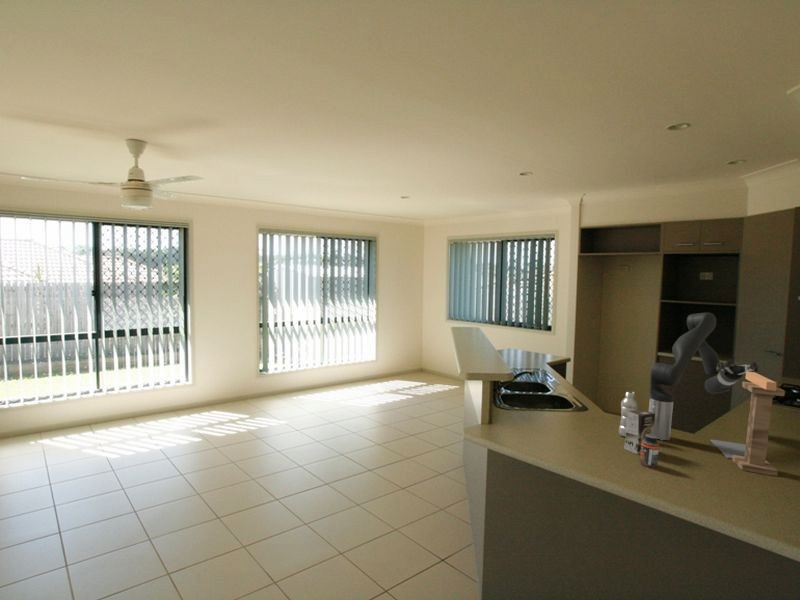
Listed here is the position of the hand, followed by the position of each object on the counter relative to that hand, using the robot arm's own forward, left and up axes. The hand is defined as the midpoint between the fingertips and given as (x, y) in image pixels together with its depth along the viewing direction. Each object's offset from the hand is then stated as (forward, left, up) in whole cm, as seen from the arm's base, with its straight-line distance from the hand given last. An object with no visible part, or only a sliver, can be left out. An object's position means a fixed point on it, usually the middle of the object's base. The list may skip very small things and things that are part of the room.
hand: (743, 362), depth 197 cm
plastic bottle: (-42, +11, -37) cm, 57 cm away
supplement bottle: (-52, -19, -37) cm, 67 cm away
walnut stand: (-9, -20, -37) cm, 43 cm away
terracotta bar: (-8, -17, -5) cm, 19 cm away
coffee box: (-47, -5, -37) cm, 60 cm away
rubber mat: (-2, -4, -37) cm, 37 cm away
